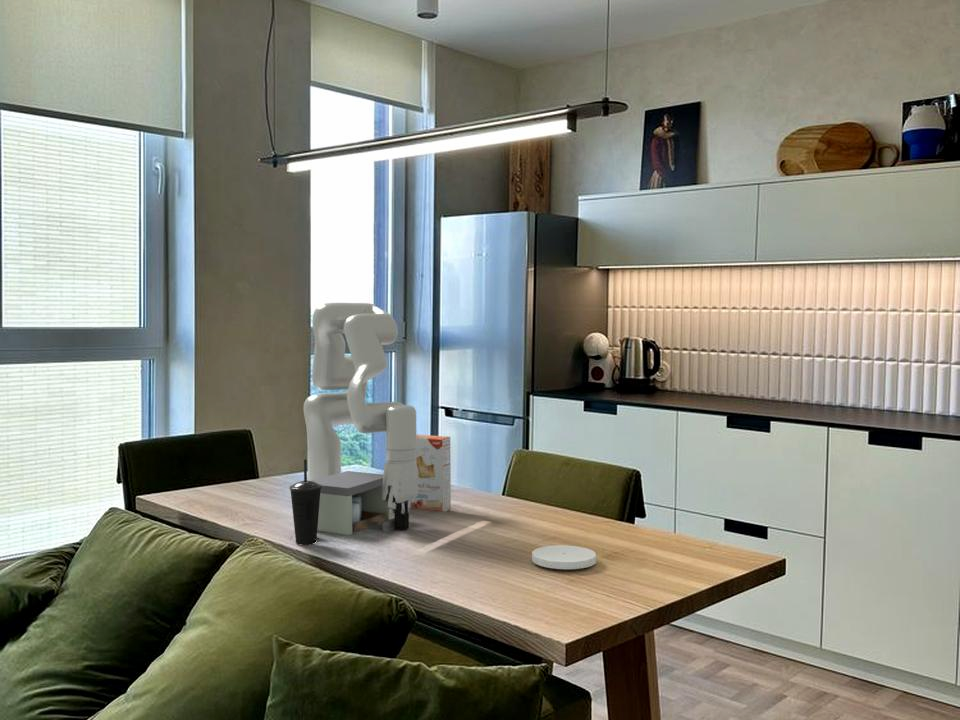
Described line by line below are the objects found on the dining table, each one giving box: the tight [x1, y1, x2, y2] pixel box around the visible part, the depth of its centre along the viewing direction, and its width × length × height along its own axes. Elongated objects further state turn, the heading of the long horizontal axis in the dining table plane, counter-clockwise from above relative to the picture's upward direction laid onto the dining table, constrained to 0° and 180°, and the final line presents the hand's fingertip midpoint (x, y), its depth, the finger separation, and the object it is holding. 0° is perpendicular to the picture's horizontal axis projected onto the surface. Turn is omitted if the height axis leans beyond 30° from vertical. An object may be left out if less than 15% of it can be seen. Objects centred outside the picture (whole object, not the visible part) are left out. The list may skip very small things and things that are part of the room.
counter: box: [312, 470, 393, 536], centre depth 227 cm, size 19×25×12 cm
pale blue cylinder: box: [352, 501, 360, 524], centre depth 225 cm, size 5×5×6 cm
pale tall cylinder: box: [352, 495, 362, 521], centre depth 233 cm, size 5×5×6 cm
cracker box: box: [410, 434, 452, 513], centre depth 248 cm, size 14×6×21 cm, turn 68°
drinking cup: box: [288, 459, 322, 546], centre depth 214 cm, size 8×8×20 cm
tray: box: [352, 511, 396, 534], centre depth 227 cm, size 14×19×3 cm
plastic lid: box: [531, 544, 597, 570], centre depth 197 cm, size 14×14×2 cm
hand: (401, 528), depth 223 cm, fingers closed
